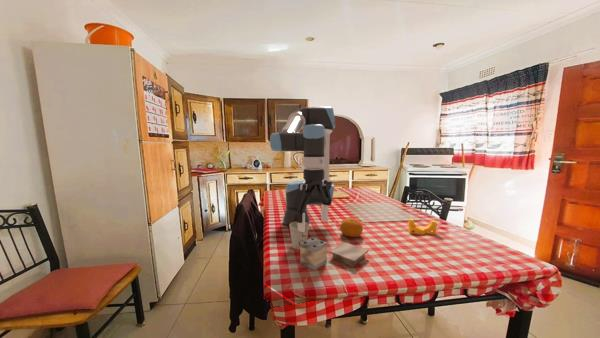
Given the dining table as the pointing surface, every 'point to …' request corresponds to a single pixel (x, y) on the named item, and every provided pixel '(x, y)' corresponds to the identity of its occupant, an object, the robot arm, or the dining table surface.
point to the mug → (298, 234)
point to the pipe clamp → (422, 228)
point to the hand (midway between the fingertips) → (313, 226)
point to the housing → (313, 253)
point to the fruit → (351, 227)
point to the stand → (348, 253)
